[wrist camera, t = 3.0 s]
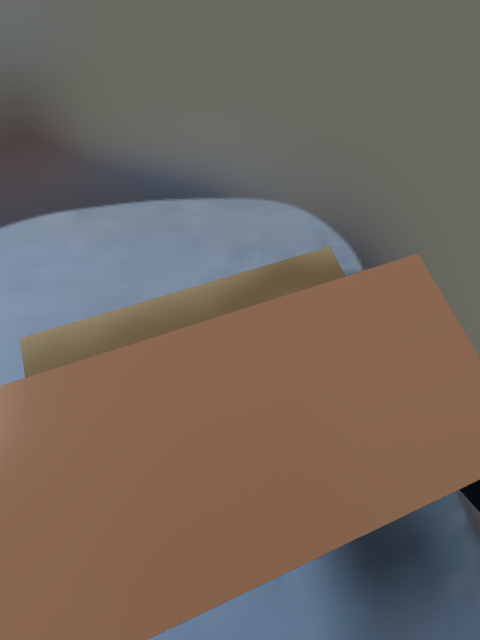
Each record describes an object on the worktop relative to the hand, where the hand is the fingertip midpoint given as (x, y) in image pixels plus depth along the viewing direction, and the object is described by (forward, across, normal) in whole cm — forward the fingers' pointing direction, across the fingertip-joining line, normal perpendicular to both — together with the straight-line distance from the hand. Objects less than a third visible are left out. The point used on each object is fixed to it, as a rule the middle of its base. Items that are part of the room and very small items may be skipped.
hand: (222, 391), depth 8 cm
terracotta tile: (+5, 0, +6) cm, 7 cm away
